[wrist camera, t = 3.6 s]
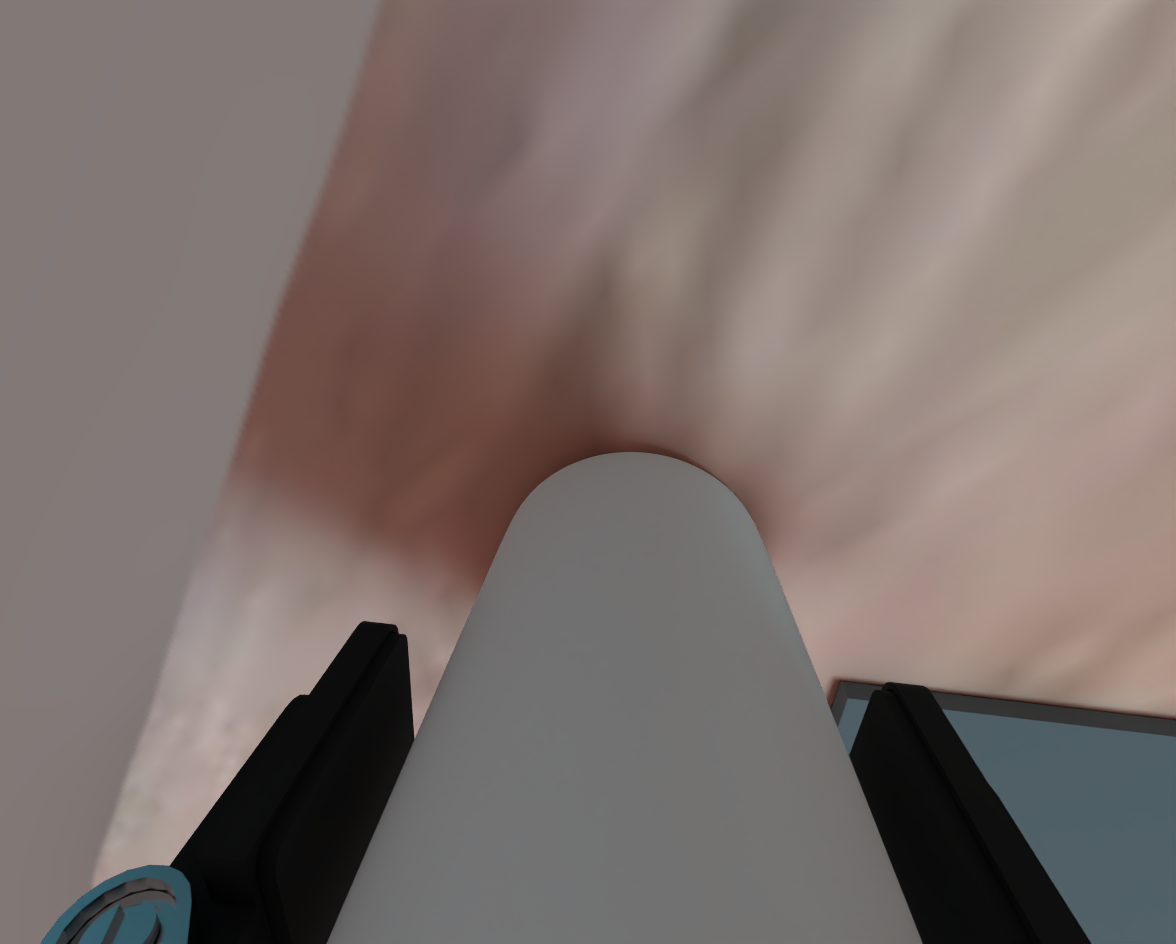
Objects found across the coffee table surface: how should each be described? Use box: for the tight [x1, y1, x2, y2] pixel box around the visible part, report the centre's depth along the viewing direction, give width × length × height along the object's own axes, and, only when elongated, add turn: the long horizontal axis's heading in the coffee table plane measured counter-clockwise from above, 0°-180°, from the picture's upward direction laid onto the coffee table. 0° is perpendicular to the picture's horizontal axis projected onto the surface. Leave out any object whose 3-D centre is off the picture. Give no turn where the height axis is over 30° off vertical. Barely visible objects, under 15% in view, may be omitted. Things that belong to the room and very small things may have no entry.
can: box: [327, 452, 923, 944], centre depth 9 cm, size 6×6×12 cm
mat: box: [831, 681, 1176, 944], centre depth 18 cm, size 16×16×1 cm
